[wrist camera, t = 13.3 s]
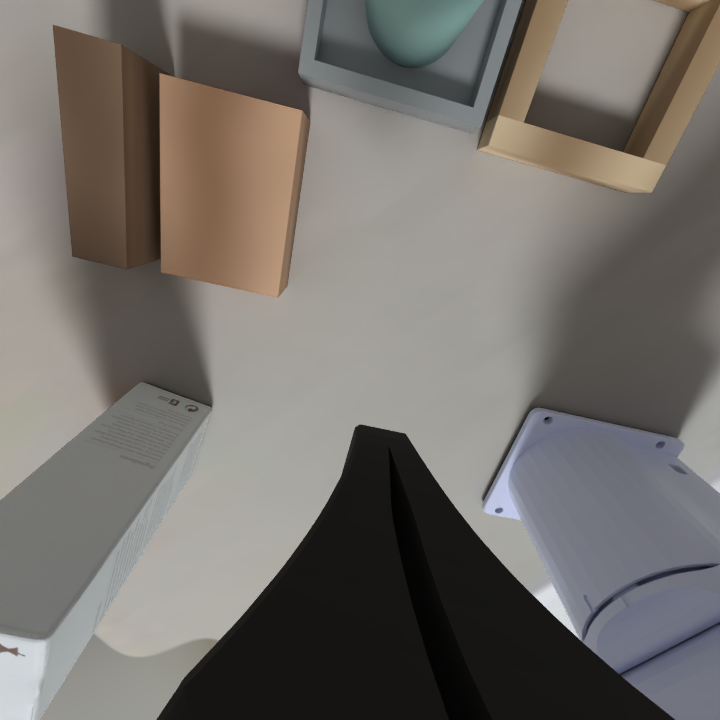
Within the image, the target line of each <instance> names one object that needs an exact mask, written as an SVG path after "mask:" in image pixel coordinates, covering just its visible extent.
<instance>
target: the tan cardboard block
mask: <svg viewBox="0 0 720 720" xmlns="http://www.w3.org/2000/svg"><path fill="white" fill-rule="evenodd" d="M159 75H160V210H161V272H162V273H166V274H171V275H176V276H180V277H185V278H189V279H194V280H199V281H203V282H208V283H212V284H217V285H222V286H226V287H231V288H236V289H240V290H245V291H249V292H254V293H259V294H263V295H268V296H273V297H277V298H278V297H279V296H280V295H281V293H282V292H283V291H284V290H285V288H286V287H287V285H288V278H289V270H290V263H291V256H292V249H293V242H294V235H295V228H296V221H297V213H298V206H299V199H300V192H301V185H302V178H303V171H304V164H305V156H306V149H307V142H308V135H309V128H310V120H309V119H308V118H307V116H306V115H305V113H304V112H303V111H302V110H298V109H295V108H291V107H287V106H283V105H279V104H275V103H272V102H268V101H264V100H260V99H256V98H253V97H249V96H245V95H241V94H237V93H233V92H230V91H226V90H222V89H218V88H214V87H211V86H207V85H203V84H199V83H195V82H191V81H188V80H184V79H180V78H176V77H172V76H168V75H165V74H161V73H159Z"/></svg>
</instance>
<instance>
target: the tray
mask: <svg viewBox="0 0 720 720" xmlns="http://www.w3.org/2000/svg"><path fill="white" fill-rule="evenodd" d="M521 3H522V0H484V1H483V3H482V4H481V5H480V7H479V8H478V10H477V11H476V12H475V14H474V15H473V17H472V18H471V20H470V21H469V22H468V24H467V25H466V27H465V28H464V29H463V31H462V32H461V34H460V35H459V36H458V38H457V39H456V41H455V42H454V43H453V45H452V46H451V47H450V49H449V50H448V51H447V52H446V53H445V54H444V55H443V56H442V57H441V58H440V59H438V60H437V61H435V62H433V63H432V64H429V65H427V66H424V67H420V68H407V67H403V66H400V65H398V64H395V63H394V62H392V61H390V60H389V59H388V58H387V57H386V56H384V54H383V53H382V52H381V51H380V50H379V48H378V47H377V45H376V44H375V42H374V40H373V38H372V36H371V33H370V30H369V27H368V23H367V17H366V0H308V4H307V11H306V18H305V25H304V33H303V40H302V47H301V54H300V61H299V69H298V74H299V76H300V78H301V80H302V81H303V83H304V85H308V86H311V87H315V88H318V89H322V90H325V91H328V92H332V93H335V94H339V95H342V96H346V97H349V98H352V99H356V100H359V101H363V102H366V103H370V104H373V105H376V106H380V107H383V108H387V109H390V110H393V111H397V112H400V113H404V114H407V115H411V116H414V117H417V118H421V119H424V120H428V121H431V122H435V123H438V124H441V125H445V126H448V127H452V128H455V129H459V130H462V131H465V132H469V133H471V132H473V131H475V130H476V129H478V128H480V127H481V126H482V123H483V120H484V117H485V113H486V110H487V107H488V104H489V101H490V98H491V95H492V92H493V89H494V86H495V83H496V80H497V76H498V73H499V70H500V67H501V64H502V61H503V58H504V55H505V52H506V49H507V46H508V43H509V39H510V36H511V33H512V30H513V27H514V24H515V21H516V18H517V15H518V12H519V9H520V6H521Z"/></svg>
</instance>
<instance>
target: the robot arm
mask: <svg viewBox="0 0 720 720" xmlns="http://www.w3.org/2000/svg"><path fill="white" fill-rule="evenodd" d="M546 417H549V418H548V419H547V420H544V419H545V418H546ZM683 449H684V443H683V442H682V441H681V440H679V439H678V438H675V437H670V436H666V435H661V434H657V433H652V432H648V431H643V430H639V429H634V428H630V427H625V426H621V425H616V424H612V423H607V422H602V421H598V420H593V419H589V418H584V417H580V416H575V415H571V414H566V413H562V412H557V411H553V410H548V409H544V408H535V409H533V410H531V411H530V413H529V414H528V416H527V418H526V420H525V422H524V424H523V426H522V428H521V430H520V432H519V434H518V436H517V438H516V440H515V441H514V443H513V445H512V447H511V449H510V451H509V453H508V455H507V457H506V459H505V461H504V463H503V465H502V467H501V469H500V471H499V472H498V474H497V476H496V478H495V480H494V482H493V484H492V486H491V488H490V490H489V492H488V494H487V496H486V498H485V500H484V502H483V504H482V507H483V510H484V512H485V513H487V514H491V515H496V516H502V517H507V518H512V519H518V520H521V521H522V523H523V525H524V527H525V529H526V531H527V533H528V535H529V537H530V539H531V541H532V543H533V545H534V547H535V549H536V551H537V553H538V555H539V557H540V559H541V561H542V563H543V566H544V568H545V570H546V572H547V574H548V576H549V578H550V580H551V582H552V584H553V586H554V588H555V590H556V592H557V594H558V596H559V598H560V600H561V602H562V604H563V606H564V608H565V610H566V612H567V614H568V617H569V619H570V621H571V623H572V625H573V627H574V629H575V631H576V633H577V635H578V637H579V639H580V640H579V639H578V638H577V637H576V636H575V635H574V634H573V633H572V632H571V631H570V630H569V629H567V628H566V627H565V626H564V625H563V624H562V623H561V622H560V621H559V620H558V619H557V618H556V617H555V616H553V615H552V614H551V613H550V612H549V611H548V610H547V609H546V608H545V607H544V606H543V605H542V604H541V603H540V602H539V601H538V600H537V599H536V598H535V597H534V596H533V595H532V594H531V593H530V592H529V591H528V590H527V589H526V588H525V587H524V586H523V585H522V584H521V583H520V582H519V581H518V580H517V579H516V578H515V577H514V576H513V575H512V574H511V573H510V572H509V570H508V569H507V568H506V567H505V566H504V565H503V564H502V563H501V562H500V560H499V559H498V558H497V557H496V556H495V555H494V554H493V553H492V552H491V550H490V549H489V548H488V547H487V546H486V545H485V544H484V543H483V541H482V540H481V539H480V538H479V537H478V535H477V534H476V533H475V532H474V531H473V529H472V528H471V527H470V526H469V524H468V523H467V522H466V520H465V519H464V518H463V517H462V515H461V514H460V513H459V512H458V510H457V509H456V508H455V506H454V505H453V504H452V502H451V501H450V500H449V498H448V497H447V495H446V494H445V493H444V491H443V490H442V488H441V487H440V486H439V484H438V483H437V481H436V480H435V478H434V477H433V475H432V474H431V472H430V471H429V469H428V468H427V466H426V465H425V463H424V462H423V460H422V459H421V457H420V456H419V454H418V453H417V451H416V449H415V448H414V446H413V445H412V443H411V442H410V440H409V438H408V437H407V435H406V434H404V433H399V432H395V431H390V430H385V429H380V428H375V427H370V426H365V425H359V426H357V427H355V430H354V433H353V437H352V440H351V444H350V447H349V451H348V454H347V458H346V462H345V465H344V469H343V472H342V476H341V478H340V480H339V482H338V483H337V485H336V487H335V489H334V491H333V493H332V495H331V496H330V498H329V500H328V502H327V504H326V505H325V507H324V509H323V510H322V512H321V513H320V515H319V517H318V518H317V520H316V521H315V523H314V524H313V526H312V527H311V529H310V530H309V532H308V533H307V535H306V536H305V538H304V539H303V540H302V542H301V543H300V545H299V546H298V547H297V549H296V550H295V551H294V553H293V554H292V556H291V557H290V558H289V560H288V561H287V562H286V564H285V565H284V566H283V567H282V569H281V570H280V571H279V573H278V574H277V575H276V576H275V577H274V579H273V580H272V581H271V582H270V583H269V585H268V586H267V587H266V588H265V589H264V591H263V592H262V593H261V594H260V595H259V597H258V598H257V599H256V600H255V601H254V603H253V604H252V605H251V606H250V607H249V609H248V610H247V611H246V612H245V613H244V614H243V615H242V617H241V618H240V619H239V620H238V621H237V622H236V623H235V624H234V626H233V627H232V628H231V629H230V630H229V631H228V632H227V633H226V634H225V635H224V636H223V637H222V638H221V639H220V640H219V641H218V643H217V644H216V645H215V646H214V647H213V648H212V649H211V650H210V651H209V652H208V653H207V654H206V655H205V656H204V657H203V659H202V660H201V661H200V662H199V663H198V664H197V665H196V666H195V667H194V668H193V669H192V670H191V671H190V672H189V673H188V675H187V676H186V677H185V678H184V679H183V680H182V682H181V684H180V686H179V687H178V689H177V690H176V692H175V693H174V694H173V696H172V698H171V699H170V700H169V702H168V703H167V705H166V706H165V708H164V709H163V711H162V712H161V714H160V715H159V717H158V718H157V720H720V493H719V492H717V491H716V490H715V489H714V488H713V487H711V486H710V485H709V484H708V483H707V482H705V481H704V480H703V479H702V478H701V477H699V476H698V475H697V474H696V473H695V472H693V471H692V470H691V469H690V468H689V467H687V466H686V465H685V464H684V463H683V462H681V461H680V460H679V459H678V458H677V457H678V456H679V454H680V453H681V452H682V450H683ZM498 507H500V508H498ZM496 508H497V509H496Z"/></svg>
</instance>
